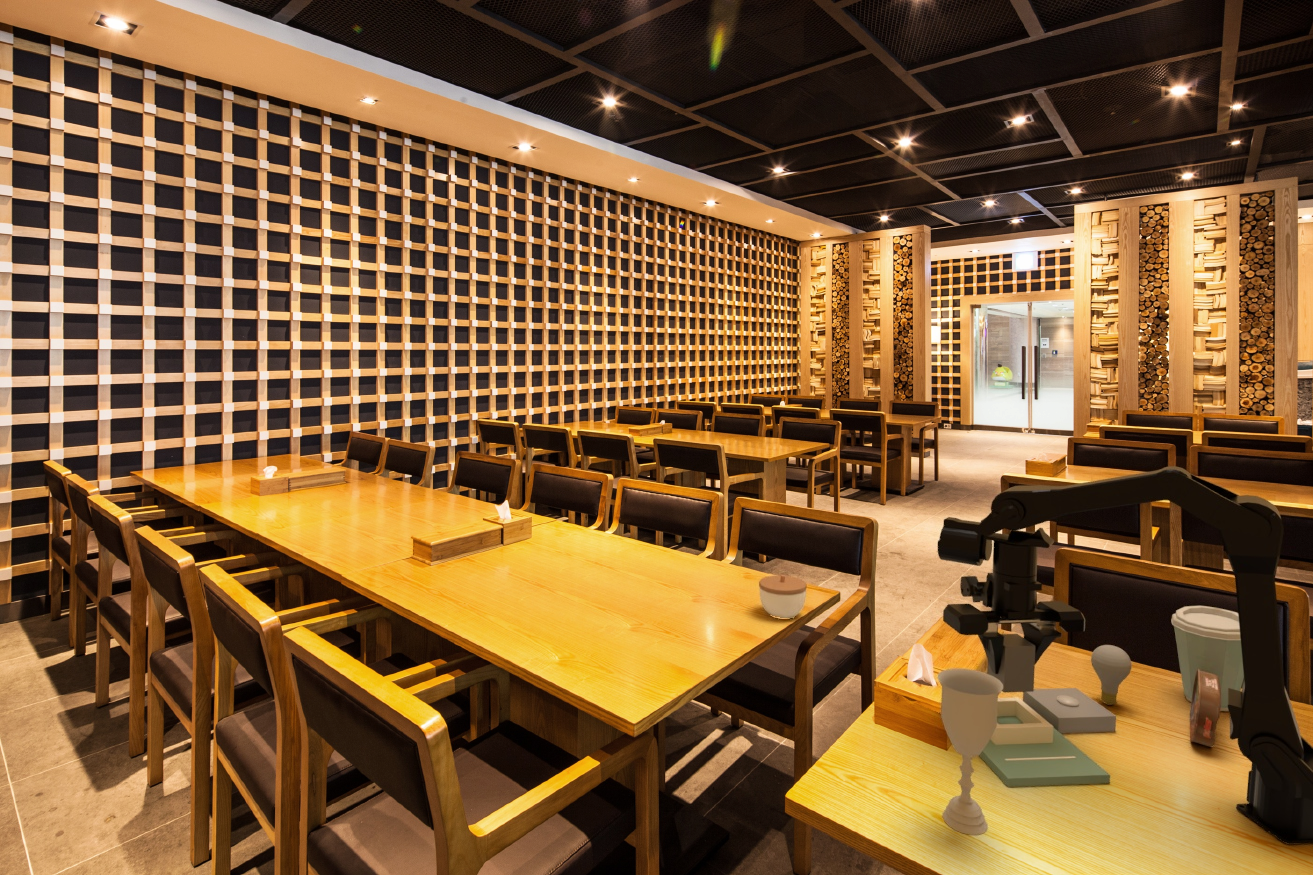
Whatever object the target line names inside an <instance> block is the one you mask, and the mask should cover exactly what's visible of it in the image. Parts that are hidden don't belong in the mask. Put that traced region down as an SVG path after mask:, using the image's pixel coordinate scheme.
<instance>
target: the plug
mask: <svg viewBox="0 0 1313 875" xmlns="http://www.w3.org/2000/svg"><path fill="white" fill-rule="evenodd" d="M1000 634H1001V635H1003V636H1004V642H1003V649H1002V657H1001V664H1000V669H999V672H998V674H994V673H993V672H992V670H991V668H990V665H989V662H988V661H987V672H986V674H989V675H991V676H994V677H995V678H997V679H998V680H1000V681H1001V683H1002V684H1003V690H1002V691H1001V692H1003V694H1004V693H1005V694H1006V693H1023V692H1034V689H1035V688H1034V687H1035V669H1036V668H1035V666H1036V664H1035V645H1033V644H1032V643H1030V642H1029V641H1027V640H1026V639H1024V636H1021V635H1020V634H1018V633H1000Z"/></svg>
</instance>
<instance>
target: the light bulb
mask: <svg viewBox="0 0 1313 875" xmlns="http://www.w3.org/2000/svg"><path fill="white" fill-rule="evenodd" d="M1090 657H1091V658H1090V661H1091V666H1092V668H1093V670H1094V672H1095V673H1096V676H1098V679H1099V681H1100V684H1101V687H1100V690H1101V692H1100V693H1101V694H1100V696H1101V697H1100V700H1101V702H1103V703H1104V704H1105V705H1107V706H1111V705H1115V704H1117V702H1118V701H1117V700H1118V699H1117V697H1118V693H1119V687H1120V685H1121V684H1122V682H1124V681H1125V680H1126V678H1127V677H1128V676H1129V675H1130V673H1131V670H1132V661H1131V658H1130V656H1129V654H1128V653H1127V652H1126V651H1125V650H1123V649H1122V648H1120V647H1119V646H1115V645H1111V644H1103V645H1100V646H1097V647H1096V648H1095V649H1094V650H1093V652H1092V653H1091V656H1090Z"/></svg>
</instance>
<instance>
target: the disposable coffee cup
mask: <svg viewBox="0 0 1313 875" xmlns="http://www.w3.org/2000/svg"><path fill="white" fill-rule="evenodd" d="M1170 620H1171V625H1172V626H1173V628H1174V633H1175V641H1176V648H1177V654H1178V656H1177V657H1178V664H1179V669H1180V676H1181V683H1182V691H1183V694H1184V696H1185V697H1186V698H1185V699H1186V701H1188V702H1190V703H1191V701H1192V693H1193V686H1194V681H1195V676H1196V672H1197V670H1198V669H1199V670H1200V671H1204V672H1208V673H1211V674H1215V675H1217V676H1218V677H1219V682H1220V689H1221V710H1220V712H1229V710H1228V688H1230V689H1234V690H1238V691H1241V692H1242V687H1243V682H1244V671H1243V660H1242V649H1241V638H1240V627H1239V616H1238V612H1236V611H1233V610H1228V609H1225V608H1224V609H1223V608H1219V607H1212V606H1206V605H1189V606H1187V605H1186V606H1183V607H1181V608H1179V609H1177V610H1175V613H1173V614H1172V615H1171V619H1170Z"/></svg>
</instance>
